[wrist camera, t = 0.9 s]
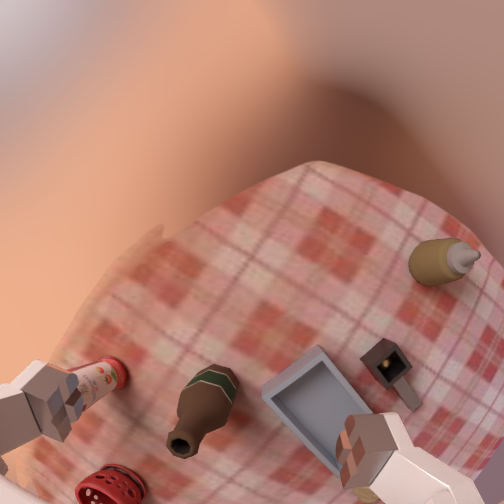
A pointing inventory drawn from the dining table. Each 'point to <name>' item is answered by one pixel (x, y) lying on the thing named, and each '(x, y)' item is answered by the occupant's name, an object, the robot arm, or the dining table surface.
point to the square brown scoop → (391, 371)
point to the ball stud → (385, 363)
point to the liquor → (99, 379)
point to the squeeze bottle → (441, 261)
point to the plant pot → (112, 486)
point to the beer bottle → (202, 409)
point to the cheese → (365, 494)
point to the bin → (314, 403)
